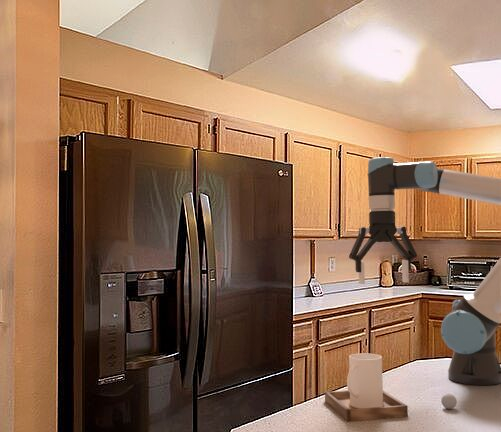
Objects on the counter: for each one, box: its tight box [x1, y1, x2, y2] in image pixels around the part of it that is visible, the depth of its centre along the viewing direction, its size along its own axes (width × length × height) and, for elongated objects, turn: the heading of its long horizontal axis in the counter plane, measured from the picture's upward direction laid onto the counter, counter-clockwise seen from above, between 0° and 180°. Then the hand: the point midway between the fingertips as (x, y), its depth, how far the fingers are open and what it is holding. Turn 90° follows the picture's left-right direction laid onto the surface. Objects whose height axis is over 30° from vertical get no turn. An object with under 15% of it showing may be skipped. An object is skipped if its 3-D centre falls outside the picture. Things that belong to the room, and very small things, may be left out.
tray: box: [324, 389, 409, 422], centre depth 151 cm, size 15×17×2 cm
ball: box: [441, 393, 458, 410], centre depth 149 cm, size 4×4×4 cm
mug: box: [346, 352, 384, 409], centre depth 151 cm, size 12×8×12 cm
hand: (383, 283), depth 178 cm, fingers open, 13 cm apart
